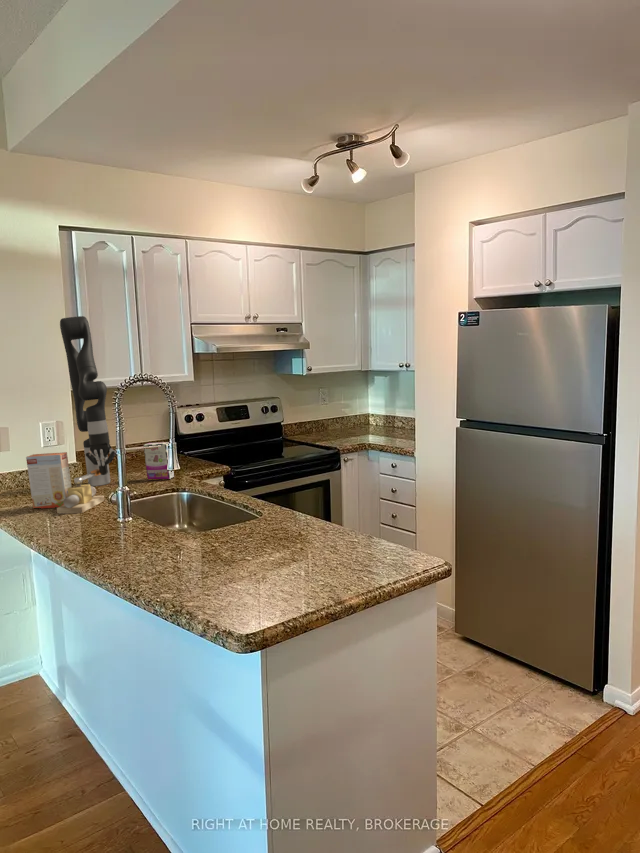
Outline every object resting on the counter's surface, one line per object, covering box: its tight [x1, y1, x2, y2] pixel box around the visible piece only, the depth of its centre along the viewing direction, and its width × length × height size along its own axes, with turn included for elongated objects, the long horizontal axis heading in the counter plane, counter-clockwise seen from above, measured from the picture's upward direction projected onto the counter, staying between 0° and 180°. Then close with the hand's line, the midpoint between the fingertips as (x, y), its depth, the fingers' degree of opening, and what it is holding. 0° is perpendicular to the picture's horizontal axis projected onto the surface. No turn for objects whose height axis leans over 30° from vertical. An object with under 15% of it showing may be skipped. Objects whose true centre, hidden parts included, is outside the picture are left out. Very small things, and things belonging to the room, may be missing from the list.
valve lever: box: [73, 469, 100, 485], centre depth 246 cm, size 16×3×2 cm, turn 168°
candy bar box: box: [143, 441, 175, 480], centre depth 281 cm, size 11×5×16 cm, turn 77°
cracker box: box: [25, 451, 73, 509], centre depth 244 cm, size 14×6×21 cm, turn 84°
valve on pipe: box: [56, 483, 105, 514], centre depth 241 cm, size 17×10×9 cm, turn 172°
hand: (104, 474), depth 252 cm, fingers closed
